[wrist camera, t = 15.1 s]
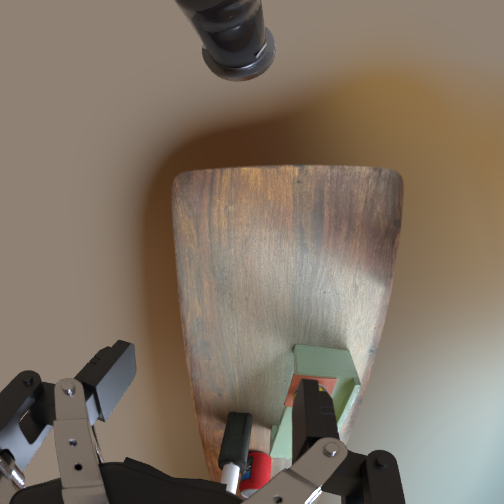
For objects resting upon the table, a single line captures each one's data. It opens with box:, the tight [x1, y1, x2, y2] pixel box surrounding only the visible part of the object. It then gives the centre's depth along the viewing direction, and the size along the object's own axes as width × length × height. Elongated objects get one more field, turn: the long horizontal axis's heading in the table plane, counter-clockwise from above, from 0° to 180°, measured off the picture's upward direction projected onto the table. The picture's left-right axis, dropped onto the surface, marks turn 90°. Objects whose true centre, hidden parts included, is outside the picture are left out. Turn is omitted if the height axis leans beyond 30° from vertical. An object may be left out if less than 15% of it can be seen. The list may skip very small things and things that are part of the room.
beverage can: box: [239, 452, 271, 498], centre depth 53 cm, size 7×7×12 cm
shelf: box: [269, 344, 361, 459], centre depth 47 cm, size 24×10×10 cm, turn 172°
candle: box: [218, 412, 252, 494], centre depth 43 cm, size 5×5×25 cm
